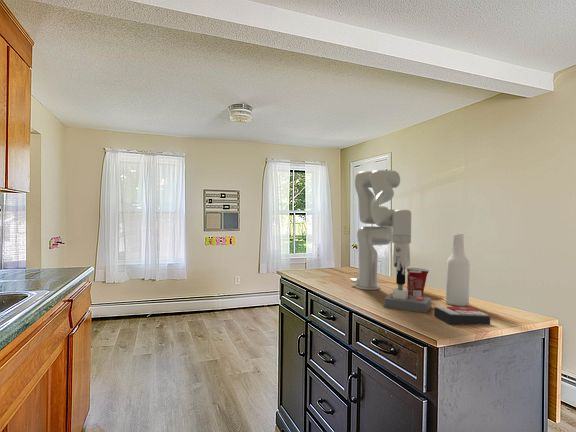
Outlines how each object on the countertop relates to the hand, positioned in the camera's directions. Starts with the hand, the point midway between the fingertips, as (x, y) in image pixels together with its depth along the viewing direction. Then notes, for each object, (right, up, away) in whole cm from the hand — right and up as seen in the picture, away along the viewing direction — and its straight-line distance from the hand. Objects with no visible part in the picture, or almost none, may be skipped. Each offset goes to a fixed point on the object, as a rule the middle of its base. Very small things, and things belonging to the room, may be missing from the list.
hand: (400, 283), depth 148 cm
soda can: (+12, -10, +17) cm, 22 cm away
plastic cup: (+17, -10, +28) cm, 34 cm away
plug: (0, -8, 0) cm, 8 cm away
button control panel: (+16, -10, -19) cm, 27 cm away
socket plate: (+2, -9, -1) cm, 10 cm away
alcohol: (+26, -10, +5) cm, 28 cm away
